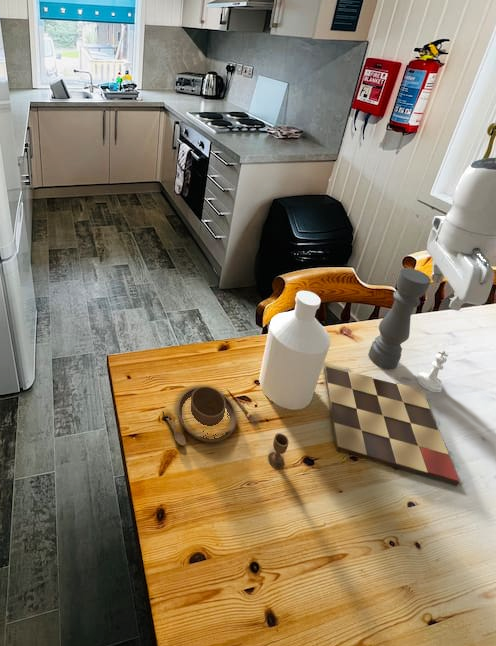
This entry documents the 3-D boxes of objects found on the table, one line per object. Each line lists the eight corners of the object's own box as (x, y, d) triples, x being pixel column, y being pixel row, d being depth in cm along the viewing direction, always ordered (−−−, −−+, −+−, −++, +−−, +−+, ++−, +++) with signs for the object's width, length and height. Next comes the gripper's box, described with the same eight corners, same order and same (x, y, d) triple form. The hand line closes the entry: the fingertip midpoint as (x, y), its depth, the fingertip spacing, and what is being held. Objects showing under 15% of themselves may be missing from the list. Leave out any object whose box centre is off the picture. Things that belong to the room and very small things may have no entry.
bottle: (281, 418, 82) (307, 325, 71) (247, 373, 92) (265, 286, 81) (325, 400, 86) (355, 310, 75) (287, 359, 96) (309, 275, 85)
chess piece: (419, 370, 94) (433, 338, 90) (444, 383, 91) (460, 351, 87) (414, 382, 91) (428, 350, 87) (439, 396, 88) (456, 363, 83)
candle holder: (391, 374, 93) (427, 288, 83) (364, 358, 97) (395, 274, 87) (400, 360, 97) (436, 276, 86) (373, 345, 101) (404, 264, 91)
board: (420, 393, 88) (422, 389, 87) (457, 486, 71) (460, 481, 70) (323, 370, 93) (325, 365, 93) (336, 450, 76) (337, 446, 75)
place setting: (223, 380, 90) (226, 361, 87) (289, 463, 73) (295, 442, 71) (155, 408, 83) (157, 388, 80) (211, 507, 66) (215, 486, 64)
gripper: (514, 269, 68) (484, 330, 74) (464, 217, 86) (443, 270, 92) (471, 262, 70) (445, 323, 75) (431, 213, 88) (412, 265, 93)
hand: (443, 293), depth 84 cm, fingers open, 8 cm apart
